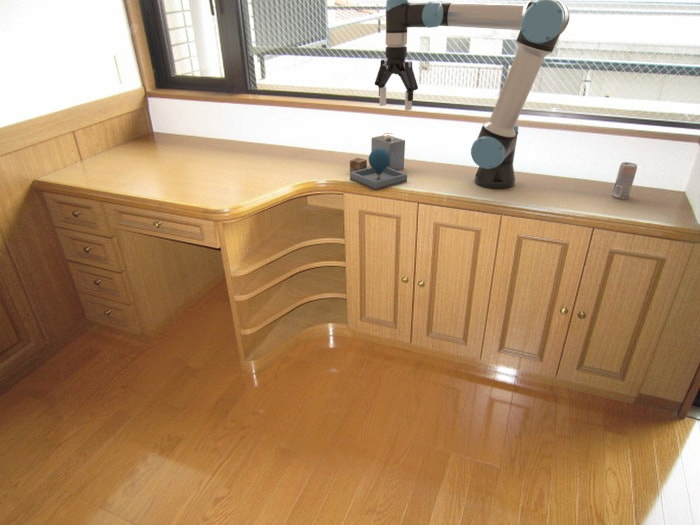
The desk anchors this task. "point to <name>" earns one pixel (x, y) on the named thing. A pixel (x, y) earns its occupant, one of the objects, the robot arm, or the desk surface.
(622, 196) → the energy drink
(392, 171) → the tray
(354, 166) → the walnut block
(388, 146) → the block
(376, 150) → the light bulb
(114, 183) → the desk surface
